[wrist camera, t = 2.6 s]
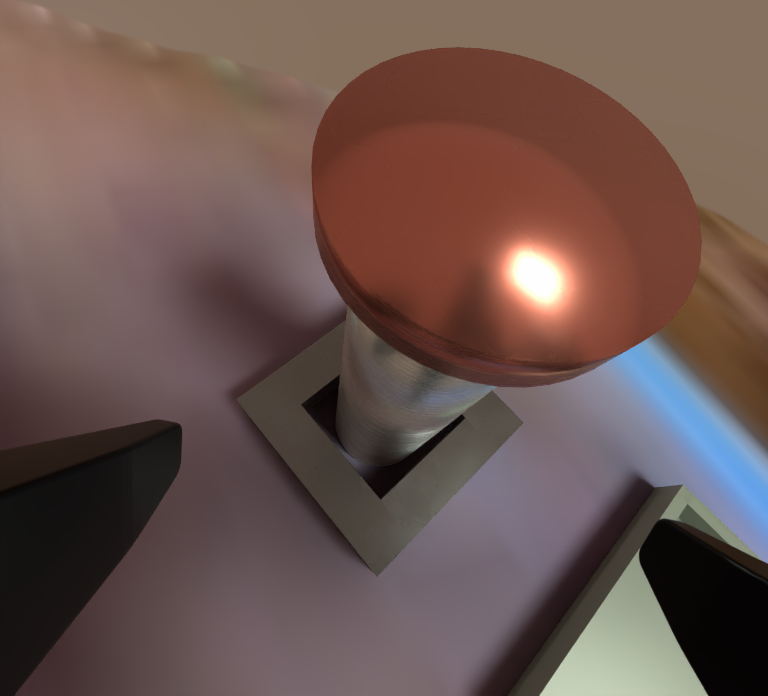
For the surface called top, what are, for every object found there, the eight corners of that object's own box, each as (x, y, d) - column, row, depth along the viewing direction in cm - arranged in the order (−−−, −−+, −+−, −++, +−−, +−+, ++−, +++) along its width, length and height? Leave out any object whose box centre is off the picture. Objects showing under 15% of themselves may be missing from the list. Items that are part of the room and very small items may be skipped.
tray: (700, 979, 14) (749, 1039, 13) (491, 717, 16) (510, 739, 15) (831, 660, 19) (879, 673, 17) (655, 487, 21) (683, 484, 19)
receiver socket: (371, 570, 18) (376, 576, 16) (244, 410, 20) (236, 399, 18) (506, 431, 21) (523, 422, 19) (385, 305, 23) (390, 287, 21)
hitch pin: (374, 508, 19) (543, 466, 4) (297, 414, 20) (223, 133, 6) (458, 427, 21) (765, 212, 6) (383, 346, 22) (496, 10, 8)
